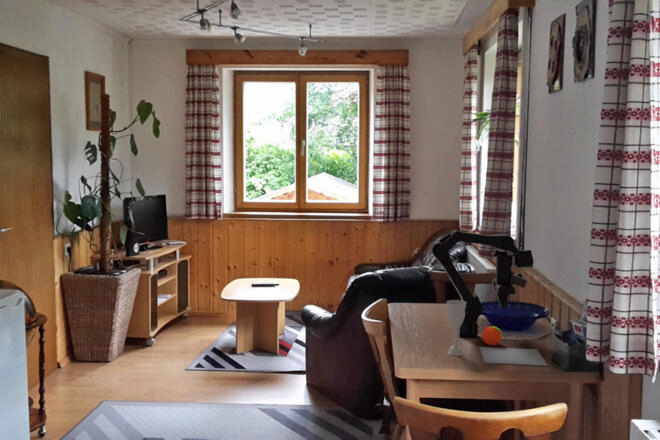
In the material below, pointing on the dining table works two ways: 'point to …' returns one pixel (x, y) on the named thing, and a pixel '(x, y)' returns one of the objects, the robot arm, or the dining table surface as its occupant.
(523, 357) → the mat
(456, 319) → the chalice
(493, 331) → the clementine
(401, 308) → the dining table surface
